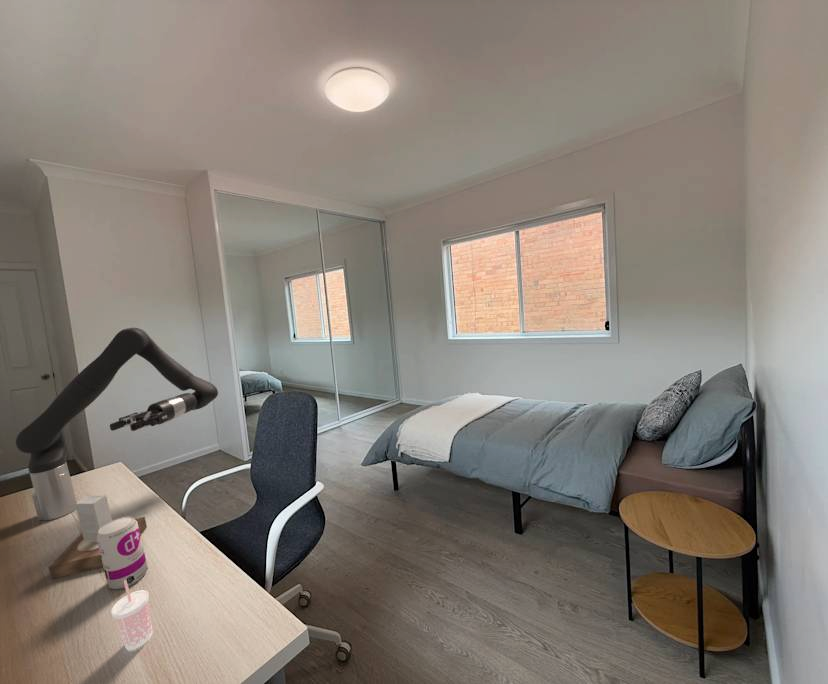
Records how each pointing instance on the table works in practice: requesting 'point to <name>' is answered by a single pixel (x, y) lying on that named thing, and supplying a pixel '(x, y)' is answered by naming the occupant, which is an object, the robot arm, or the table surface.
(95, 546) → the block
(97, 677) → the table surface
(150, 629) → the beverage cup
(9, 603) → the table surface
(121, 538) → the supplement can
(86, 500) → the skincare box
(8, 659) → the table surface
